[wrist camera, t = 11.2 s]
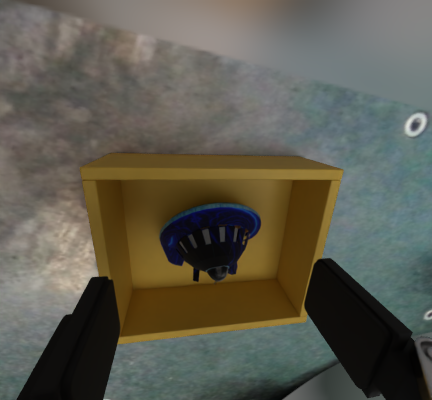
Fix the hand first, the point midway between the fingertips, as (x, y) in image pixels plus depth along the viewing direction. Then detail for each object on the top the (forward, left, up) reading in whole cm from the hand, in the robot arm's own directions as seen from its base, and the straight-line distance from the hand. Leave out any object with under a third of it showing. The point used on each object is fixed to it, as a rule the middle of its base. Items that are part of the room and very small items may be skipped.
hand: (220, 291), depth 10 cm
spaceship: (0, 0, -7) cm, 7 cm away
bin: (0, 0, -7) cm, 7 cm away
